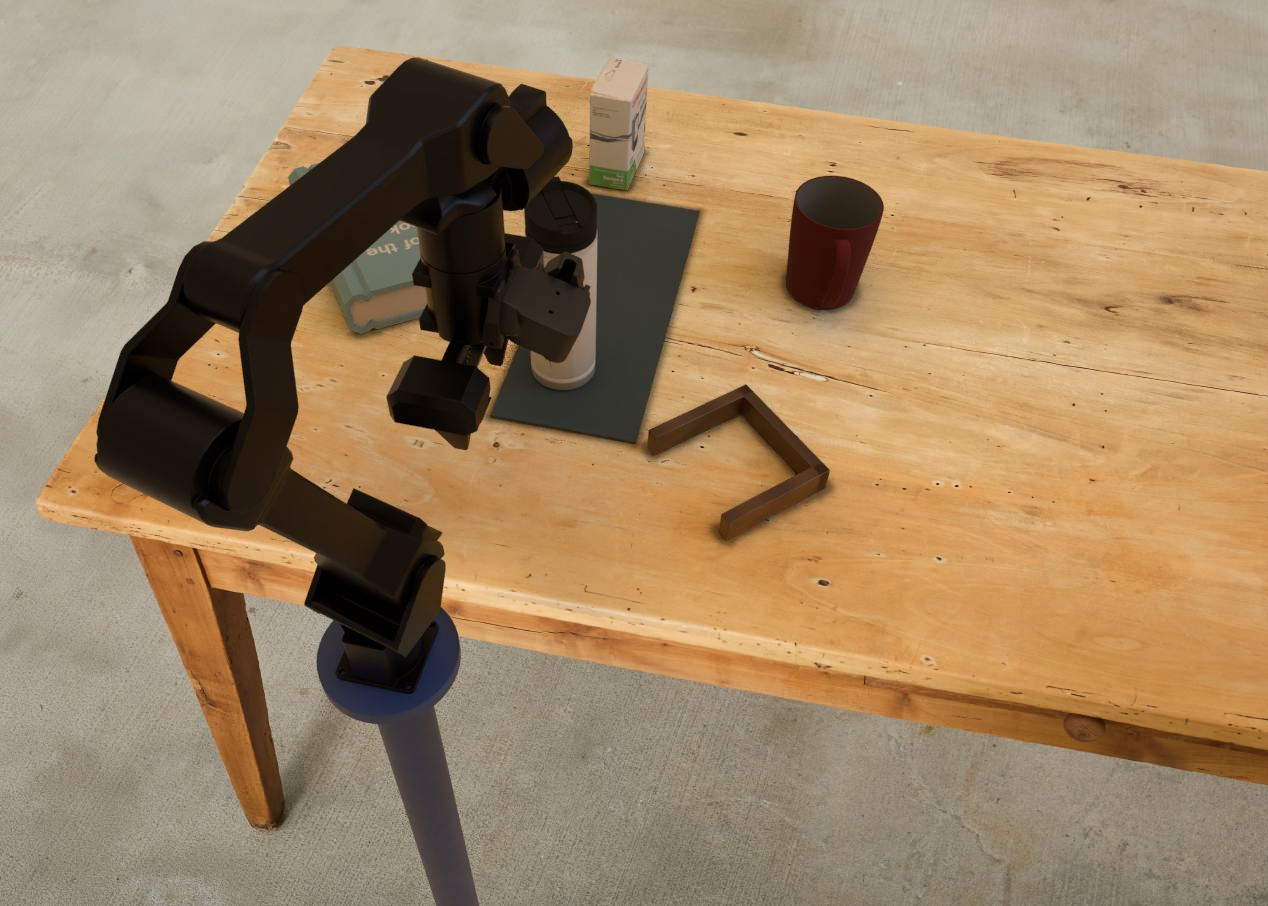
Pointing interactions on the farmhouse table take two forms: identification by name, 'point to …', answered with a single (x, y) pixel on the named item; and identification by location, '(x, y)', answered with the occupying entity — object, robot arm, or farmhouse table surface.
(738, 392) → the u-shaped bracket
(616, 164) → the ink box
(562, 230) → the travel mug
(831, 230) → the mug
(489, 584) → the farmhouse table surface
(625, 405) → the desk mat
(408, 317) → the book
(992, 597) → the farmhouse table surface
